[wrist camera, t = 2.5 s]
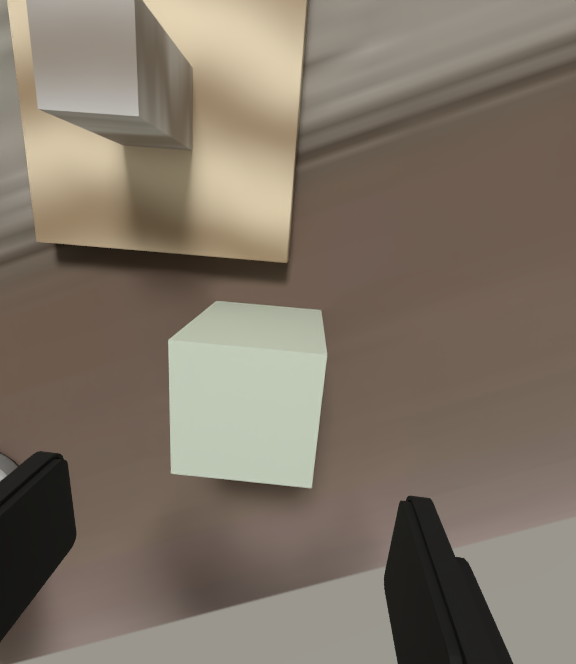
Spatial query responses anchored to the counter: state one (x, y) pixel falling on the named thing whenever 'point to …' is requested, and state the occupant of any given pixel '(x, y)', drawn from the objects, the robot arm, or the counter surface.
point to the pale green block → (247, 393)
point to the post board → (175, 182)
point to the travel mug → (6, 466)
